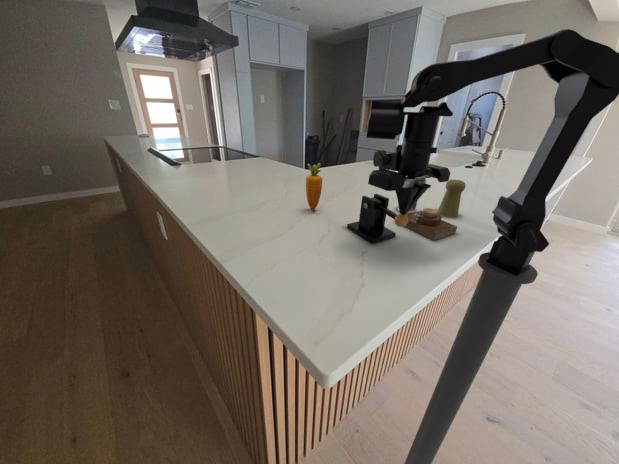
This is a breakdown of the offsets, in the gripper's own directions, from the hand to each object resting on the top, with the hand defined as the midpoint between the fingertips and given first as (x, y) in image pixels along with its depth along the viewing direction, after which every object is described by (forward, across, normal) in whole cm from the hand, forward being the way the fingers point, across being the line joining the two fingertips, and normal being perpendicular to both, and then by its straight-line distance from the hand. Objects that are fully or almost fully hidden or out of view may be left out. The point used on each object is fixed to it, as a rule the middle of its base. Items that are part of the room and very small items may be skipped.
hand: (402, 214), depth 57 cm
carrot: (+9, +6, -29) cm, 31 cm away
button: (+5, -16, -4) cm, 17 cm away
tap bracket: (+9, 0, -9) cm, 12 cm away
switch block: (+9, -16, -4) cm, 19 cm away
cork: (+9, -32, -8) cm, 34 cm away
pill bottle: (+9, -22, -16) cm, 28 cm away
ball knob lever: (+3, 0, -5) cm, 5 cm away
